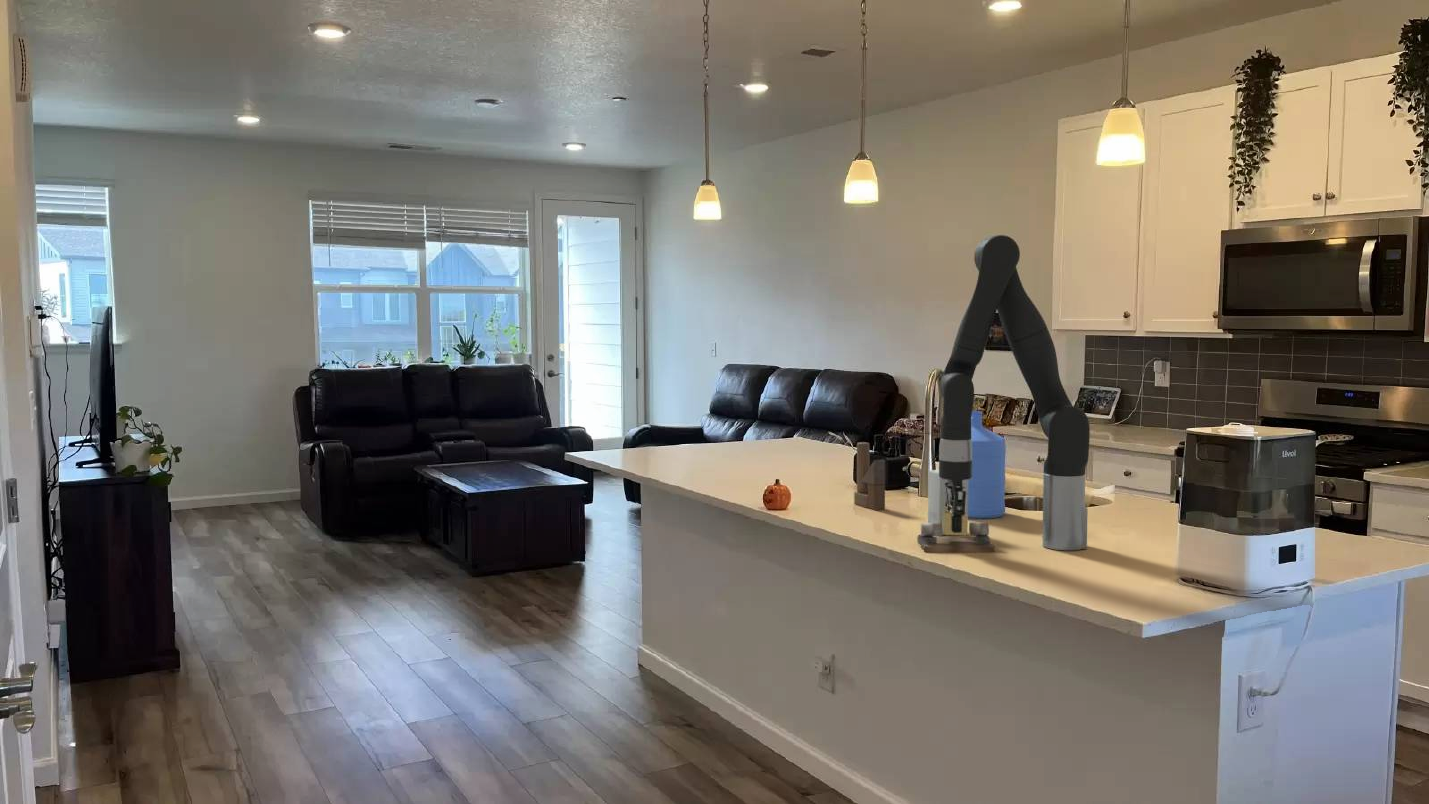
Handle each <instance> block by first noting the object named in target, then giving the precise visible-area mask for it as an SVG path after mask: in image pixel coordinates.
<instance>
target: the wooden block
mask: <svg viewBox="0 0 1429 804" xmlns="http://www.w3.org/2000/svg"><path fill="white" fill-rule="evenodd" d="M870 453H871V452H870V443H869V442H864V441H863V442H861V441H860V442H857V443H856V491H854V493H853V495H854V499H853V500H854V503H853V504H855V505H856V504H857V505H856V506H859V507H864V508H866V507H867V509H869V510H872V509H873V511H881V509H882V510H885V509H886V486H885V485H886V459H876V460H875V459H874V460H873V462H872V463H871V464H870V461H871V460H870V456H871V455H870Z"/></svg>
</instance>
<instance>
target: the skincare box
mask: <svg viewBox="0 0 1429 804" xmlns="http://www.w3.org/2000/svg"><path fill="white" fill-rule="evenodd" d="M945 482H948V480H947V479H942V478H940V477H939V469H931V470H928V490H927V491H928V492H927V493H928V494H927V495H928V497H927V502H928V503H927V523H941V524H942V509H946V508H947V507H946V506H945ZM962 483H963V487H965V491H966V499H965V512H966V513H967V529H969V524H968V521H969V520H968V519H969V518H968V480H963V481H962ZM958 510H960V507H958ZM968 531H969V530H967V534H968V533H969V532H968ZM942 536H946V535H945V534H944V533H943V531H942Z"/></svg>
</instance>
